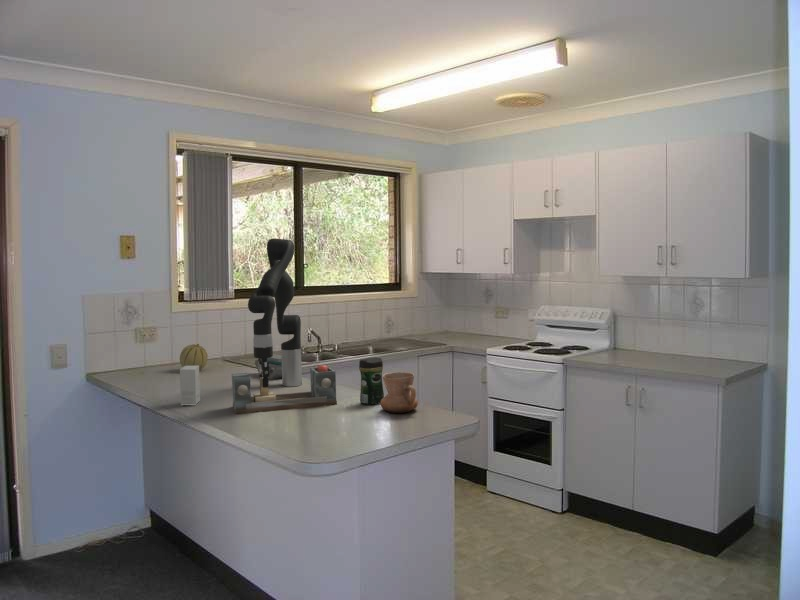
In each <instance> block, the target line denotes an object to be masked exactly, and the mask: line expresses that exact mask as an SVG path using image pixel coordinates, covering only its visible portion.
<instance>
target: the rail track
mask: <svg viewBox="0 0 800 600" xmlns="http://www.w3.org/2000/svg"><path fill="white" fill-rule="evenodd" d="M309 370H310V371H309V373H310V375H309V376H310V391H301V392H291V393H288V392H287V393H277V394H275V393H274V394H275V395H276V401H267V402H255V403H254V399H253V396H251V395H252V393H251V390H252V389H251V377H250V374H248V373H247V372H242V373H232V374H231V382H232V385H231V386H232V387H231V388H232V407H234V408H233V410H235V411H234V413H235V414H236V413H242V414H248V413H247V412H252V413H257V412H256V411H263V412H271V410H273V411H281V410H293V409H303V408H315V407H325V406H324V405H326V406H333V405H332V404H336V405H338V401H337V381H336V370H335V369H333V368H331V367H330V366H327V370H328V371H326V372H318V367H310V368H309Z"/></svg>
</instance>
